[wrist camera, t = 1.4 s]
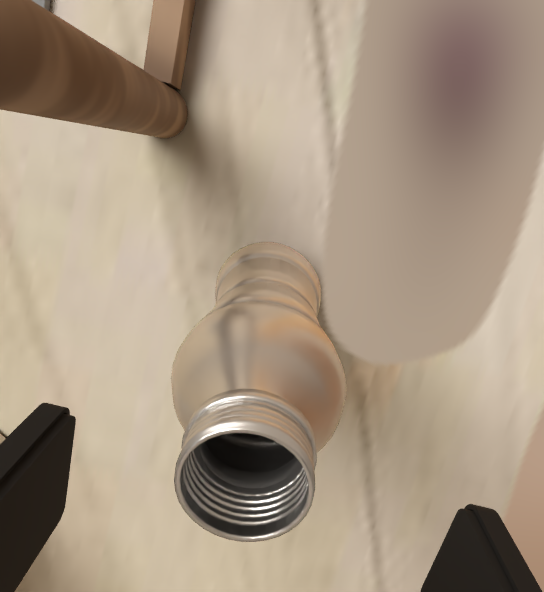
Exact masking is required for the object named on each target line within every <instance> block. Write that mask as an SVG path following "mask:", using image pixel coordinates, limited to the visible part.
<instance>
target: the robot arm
mask: <svg viewBox="0 0 544 592" xmlns="http://www.w3.org/2000/svg"><path fill="white" fill-rule="evenodd" d="M75 422H76V419H75V417H74V416H71V415H70V411H69V409H68V408H65V407H61V406H57V405H53V404H49V403H42V404H41V405H39V406H38V407H37V408H36V409H35V410H34V411H33V412H32V413H31V414H30V415H29V416H28V417H27V418H26V419H25V420H24V421H23V422H22V423H21V424H20V425H19V426H18V427H17V428H16V429H15V430H14V431H13V432H12V433H11V434H10V435H9V436H8V437H7V438H5V437H4V436H2V435H1V434H0V592H14V591H15V590H16V588H17V587H18V585H19V584H20V582H21V581H22V579H23V577H24V576H25V574H26V573H27V571H28V570H29V568H30V566H31V565H32V563H33V562H34V560H35V559H36V557H37V556H38V554H39V552H40V551H41V549H42V548H43V546H44V545H45V543H46V541H47V540H48V538H49V537H50V535H51V534H52V532H53V531H54V529H55V527H56V526H57V524H58V523H59V521H60V519H61V517H62V514H63V512H64V508H65V503H66V495H67V487H68V479H69V471H70V463H71V455H72V447H73V438H74V430H75ZM421 592H542V590H541V589H540V587H539V585H538V583H537V582H536V580H535V578H534V576H533V575H532V573H531V571H530V569H529V567H528V566H527V564H526V562H525V560H524V559H523V557H522V555H521V553H520V551H519V550H518V548H517V546H516V544H515V543H514V541H513V539H512V537H511V536H510V534H509V532H508V530H507V529H506V527H505V525H504V523H503V521H502V520H501V518H500V516H499V514H498V513H497V512H496V511H495V510H493V509H489V508H485V507H481V506H477V505H473V504H469V505H467V506H466V507H465V509H460V510H458V512H457V514H456V516H455V518H454V520H453V522H452V524H451V526H450V529H449V531H448V533H447V535H446V537H445V539H444V541H443V543H442V546H441V548H440V550H439V552H438V554H437V556H436V558H435V560H434V562H433V565H432V567H431V569H430V571H429V573H428V575H427V577H426V579H425V582H424V584H423V586H422V588H421Z"/></svg>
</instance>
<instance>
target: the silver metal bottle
mask: <svg viewBox="0 0 544 592" xmlns="http://www.w3.org/2000/svg"><path fill="white" fill-rule="evenodd" d="M215 297H216V305H215V307H214V308H213V310H212V311H211V312H210V313H209V314H207V315H206V316H205V317H204V318H203V319H202V320H201V321H200V322H199V323H198V324H197V325H196V326H195V327H194V328H193V329H192V330H191V332H190V333H189V334H188V335H187V337H186V338H185V340H184V341H183V343H182V344H181V346H180V348H179V349H178V351H177V354H176V357H175V360H174V362H173V367H172V376H171V383H172V394H173V403H174V408H175V411H176V414H177V417H178V420H179V422H180V424H181V425H182V427H183V429H184V431H185V433H184V435H183V440H182V450H181V453H180V455H179V458H178V460H177V463H176V469H175V477H174V483H175V492H176V494H177V497H178V500H179V503H180V504H181V506H182V507H183V509H184V511H185V512H186V513H187V514H188V515H189V517H190V518H191V519H192V520H193V521H194V522H195V523H197V524H198V525H199V526H201V527H202V528H203V529H205V530H207V531H209V532H211V533H213V534H215V535H217V536H220V537H223V538H226V539H230V540H235V541H241V542H256V541H264V540H269V539H272V538H276V537H279V536H281V535H283V534H285V533H287V532H289V531H290V530H292V529H293V528H294V527H296V526H297V525H298V524H299V523H300V522H301V521H302V520H303V518H304V517H305V516H306V515H307V513H308V511H309V509H310V507H311V504H312V500H313V496H314V491H315V474H314V470H315V466H316V453H317V452H318V451H319V450H321V449H322V448H323V447H324V446H325V445H326V443H327V442H328V441H329V440H330V438H331V437H332V436H333V434H334V432H335V430H336V428H337V426H338V424H339V421H340V418H341V415H342V411H343V407H344V403H345V399H346V378H345V374H344V369H343V366H342V363H341V361H340V359H339V357H338V354H337V352H336V350H335V348H334V345H333V343H332V342H331V341H330V339H329V338H328V336H327V335H326V333H325V332H324V330H323V329H322V327H321V326H320V324H319V322H318V319H317V316H318V312H319V308H320V302H321V287H320V282H319V279H318V276H317V274H316V272H315V270H314V268H313V267H312V265H311V264H310V263H309V261H308V260H307V259H305V258H304V257H303V256H302V255H301V254H300V253H298V252H297V251H295V250H294V249H292V248H290V247H288V246H285V245H283V244H279V243H274V242H260V243H255V244H251V245H248V246H246V247H243V248H241V249H239V250H238V251H236V252H235V253H233V254H232V255H231V256H230V257H229V258H228V259H227V260H226V261H225V263H224V264H223V266H222V268H221V269H220V272H219V274H218V277H217V282H216V291H215Z"/></svg>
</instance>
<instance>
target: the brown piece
mask: <svg viewBox="0 0 544 592" xmlns="http://www.w3.org/2000/svg"><path fill="white" fill-rule="evenodd" d="M195 1H196V0H154V1H153V8H152V15H151V22H150V29H149V36H148V43H147V50H146V57H145V64H144V70H142V69H141V68H139V67H137V66H136V65H134V64H133V63H131V62H129V61H128V60H126V59H125V58H123V57H121V56H120V55H118V54H117V53H115V52H114V51H112V50H110V49H109V48H107V47H106V46H104V45H102V44H101V43H99V42H98V41H96V40H94V39H93V38H91V37H90V36H88V35H86V34H85V33H83V32H82V31H80V30H78V29H77V28H75V27H74V26H72V25H70V24H69V23H67V22H66V21H64V20H62V19H61V18H59V17H58V16H56V15H54V14H53V13H51V12H50V11H48V10H46V9H45V8H43V7H42V6H40V5H38V4H37V3H35V2H34V1H32V0H0V109H1V110H7V111H13V112H18V113H24V114H30V115H35V116H41V117H47V118H52V119H58V120H64V121H69V122H75V123H81V124H86V125H92V126H98V127H103V128H109V129H115V130H120V131H126V132H132V133H137V134H143V135H149V136H154V137H160V138H170V137H173V136H175V135H177V134H179V133H180V132H181V131H182V129H183V128H184V126H185V124H186V122H187V117H188V111H187V106H186V103H185V101H184V99H183V97H182V96H181V95H180V94H179V93H178V92H177V91H176V90H174V89H178V90H181V84H182V79H183V73H184V67H185V61H186V55H187V49H188V43H189V37H190V31H191V25H192V19H193V13H194V7H195ZM173 88H174V89H173Z"/></svg>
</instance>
